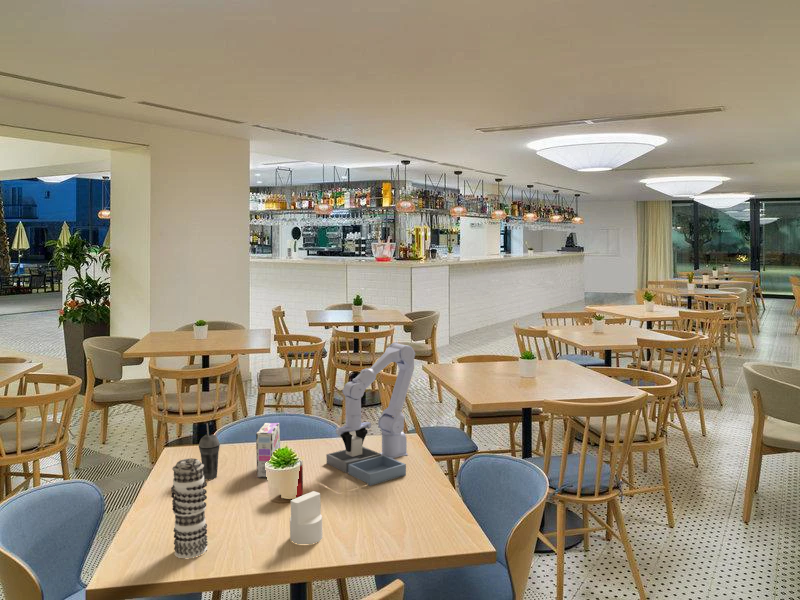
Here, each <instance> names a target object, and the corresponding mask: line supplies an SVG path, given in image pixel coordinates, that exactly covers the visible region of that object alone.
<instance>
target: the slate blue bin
mask: <svg viewBox="0 0 800 600" xmlns="http://www.w3.org/2000/svg"><path fill="white" fill-rule="evenodd" d="M347 475H349V476H352V477H353V478H355V479H358V480H360V481H362V482H363V483H366V485H368V486H370V487H371V486H375V485H377V484H381V483H385V482H388V481H391V480H394V479H397V478H401V477H404V476H406V475H407V464H406V463H404V462H402V461H399V460H397V459H395V458H393V459H392V458H390V457H387V456H385V455H382V456H378V457H375V458H371V459H367V460H363V461H360V462H356V463H352V464H348V473H347Z"/></svg>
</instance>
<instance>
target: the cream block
mask: <svg viewBox="0 0 800 600" xmlns="http://www.w3.org/2000/svg"><path fill="white" fill-rule="evenodd" d="M362 446H363V445H362V438H360V437H357V436H356V435H353V436H352V440H351V452H348V451H346V454H348V455H350V456H352V457H353V456H357V455H361V454H362Z"/></svg>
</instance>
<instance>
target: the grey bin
mask: <svg viewBox="0 0 800 600" xmlns="http://www.w3.org/2000/svg"><path fill="white" fill-rule="evenodd" d="M380 453H381V452H377V451H375V450H373V449H370V448H367V447H366V446H364V445H362V454H361V455H357V456H353V457H352V456H350V455H348V454H346V449H343V450H339V451H333V452H330V453H327V454H326V464H327V465H329V466H331V467H333V468H335V469H337V470H339V471H341V472H343V473H346V474H348V464H352V463H356V462H360V461H363V460H367V459H371V458H375V457H378V456H381V454H380Z"/></svg>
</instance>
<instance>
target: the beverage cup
mask: <svg viewBox="0 0 800 600" xmlns="http://www.w3.org/2000/svg"><path fill="white" fill-rule="evenodd" d="M209 430H210V429H209V423H208V422H207V423H206V431H207V432H206V434H205V435H204V436H202V437H201V438H200V440H199V443H198V448H199V453H200V458H201V459H200V462H201V463H203V464H204V467H203V475H204V478H206V479H205V480H207V479H210V480H214V478H215V479H216V478H217V477H218V469H219V468H218V467H219V451H220V447H221V444H220V440H219V437H217V435H215V434H212V433H210V431H209Z"/></svg>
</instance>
